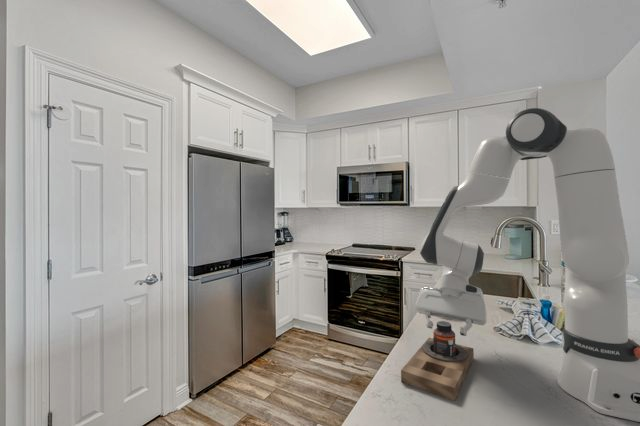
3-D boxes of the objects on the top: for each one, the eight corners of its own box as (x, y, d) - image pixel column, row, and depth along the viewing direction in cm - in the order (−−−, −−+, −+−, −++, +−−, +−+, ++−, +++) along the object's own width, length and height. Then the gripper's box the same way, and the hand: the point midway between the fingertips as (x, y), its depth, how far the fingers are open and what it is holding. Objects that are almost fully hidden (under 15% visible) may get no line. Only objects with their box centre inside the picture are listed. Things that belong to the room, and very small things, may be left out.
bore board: (473, 358, 87) (473, 346, 87) (454, 400, 67) (454, 385, 67) (429, 346, 94) (429, 335, 94) (401, 381, 75) (401, 368, 75)
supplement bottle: (458, 368, 81) (457, 328, 81) (435, 366, 83) (435, 326, 83) (452, 357, 87) (452, 320, 87) (432, 355, 88) (431, 319, 88)
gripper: (418, 281, 98) (408, 318, 90) (487, 289, 86) (482, 334, 78) (422, 291, 102) (413, 328, 94) (489, 301, 89) (485, 344, 81)
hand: (445, 331), depth 86 cm, fingers open, 8 cm apart
